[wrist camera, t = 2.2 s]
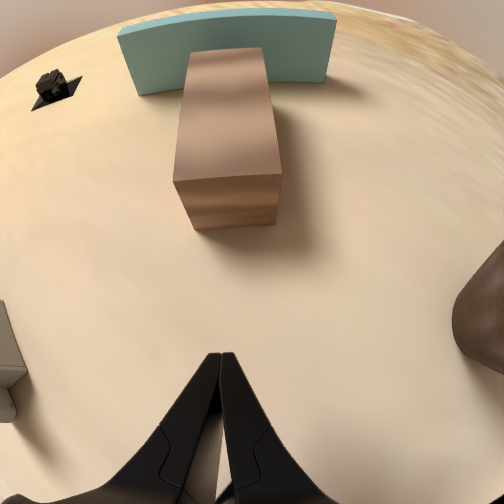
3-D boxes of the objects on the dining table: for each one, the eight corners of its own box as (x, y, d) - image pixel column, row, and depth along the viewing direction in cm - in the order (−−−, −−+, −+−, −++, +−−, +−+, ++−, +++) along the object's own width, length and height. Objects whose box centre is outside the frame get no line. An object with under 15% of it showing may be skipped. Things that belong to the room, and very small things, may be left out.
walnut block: (274, 225, 26) (282, 173, 18) (195, 230, 25) (172, 181, 18) (260, 102, 31) (261, 47, 23) (200, 106, 31) (190, 53, 23)
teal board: (323, 83, 32) (337, 20, 23) (138, 95, 32) (116, 36, 22) (310, 51, 35) (319, -4, 25) (149, 62, 34) (134, 10, 25)
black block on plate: (93, 73, 36) (84, 53, 31) (79, 99, 33) (67, 78, 29) (39, 93, 36) (29, 76, 31) (24, 120, 33) (11, 103, 29)
